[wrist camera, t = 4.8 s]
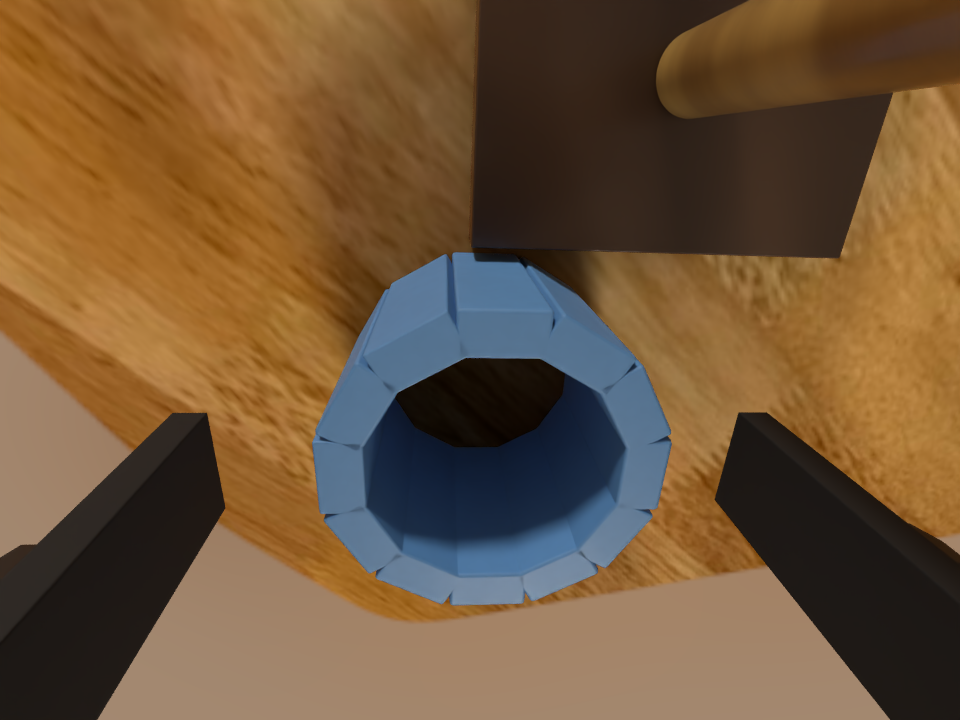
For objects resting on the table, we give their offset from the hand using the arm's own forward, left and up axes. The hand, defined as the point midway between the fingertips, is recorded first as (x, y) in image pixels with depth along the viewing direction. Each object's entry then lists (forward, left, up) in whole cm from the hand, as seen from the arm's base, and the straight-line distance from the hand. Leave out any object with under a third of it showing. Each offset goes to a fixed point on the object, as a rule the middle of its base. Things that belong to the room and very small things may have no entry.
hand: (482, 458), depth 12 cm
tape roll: (0, 0, -5) cm, 5 cm away
